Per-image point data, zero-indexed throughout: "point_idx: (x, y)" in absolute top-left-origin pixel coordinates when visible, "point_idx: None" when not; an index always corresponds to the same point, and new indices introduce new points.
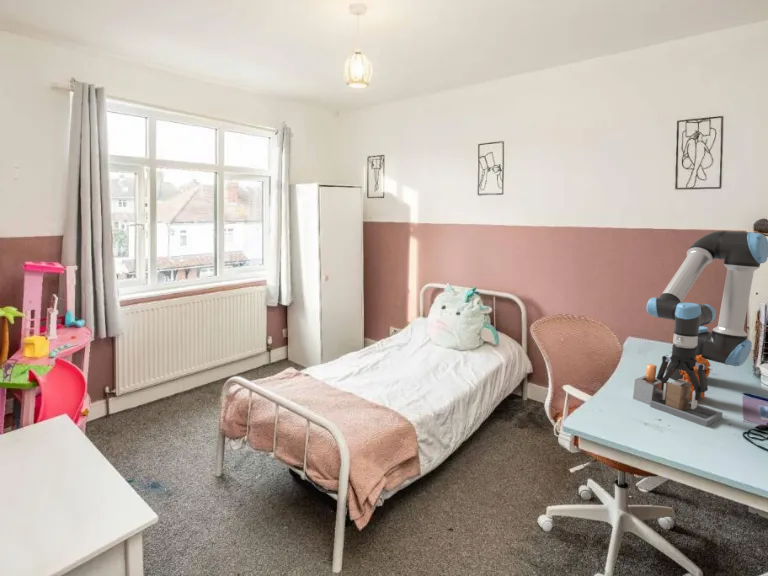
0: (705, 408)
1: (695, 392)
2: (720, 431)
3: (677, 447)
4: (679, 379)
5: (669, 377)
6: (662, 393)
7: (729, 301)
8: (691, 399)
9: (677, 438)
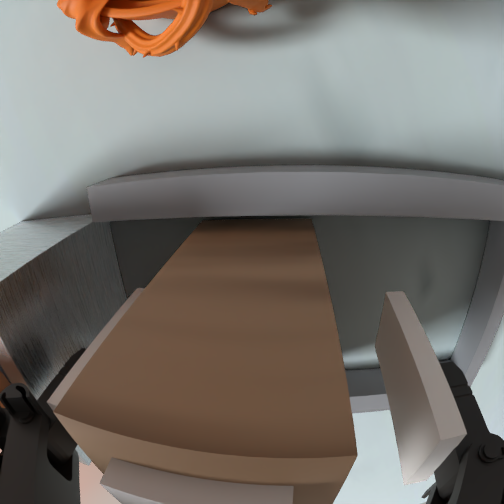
0: (448, 214)
1: (431, 489)
2: (500, 360)
3: (384, 498)
4: (126, 502)
5: (50, 487)
6: (79, 258)
7: None
8: (225, 2)
9: (375, 484)
